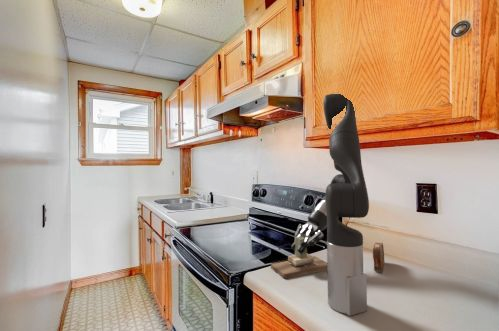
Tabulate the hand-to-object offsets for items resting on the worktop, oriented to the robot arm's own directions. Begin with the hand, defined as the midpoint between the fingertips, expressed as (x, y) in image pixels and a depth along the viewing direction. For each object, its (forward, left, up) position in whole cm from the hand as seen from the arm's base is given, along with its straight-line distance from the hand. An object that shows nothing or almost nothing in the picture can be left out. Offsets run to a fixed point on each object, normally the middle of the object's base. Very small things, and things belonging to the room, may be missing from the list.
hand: (296, 250), depth 94 cm
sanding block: (0, -2, -5) cm, 5 cm away
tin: (-11, -29, -7) cm, 32 cm away
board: (0, -2, -7) cm, 7 cm away
